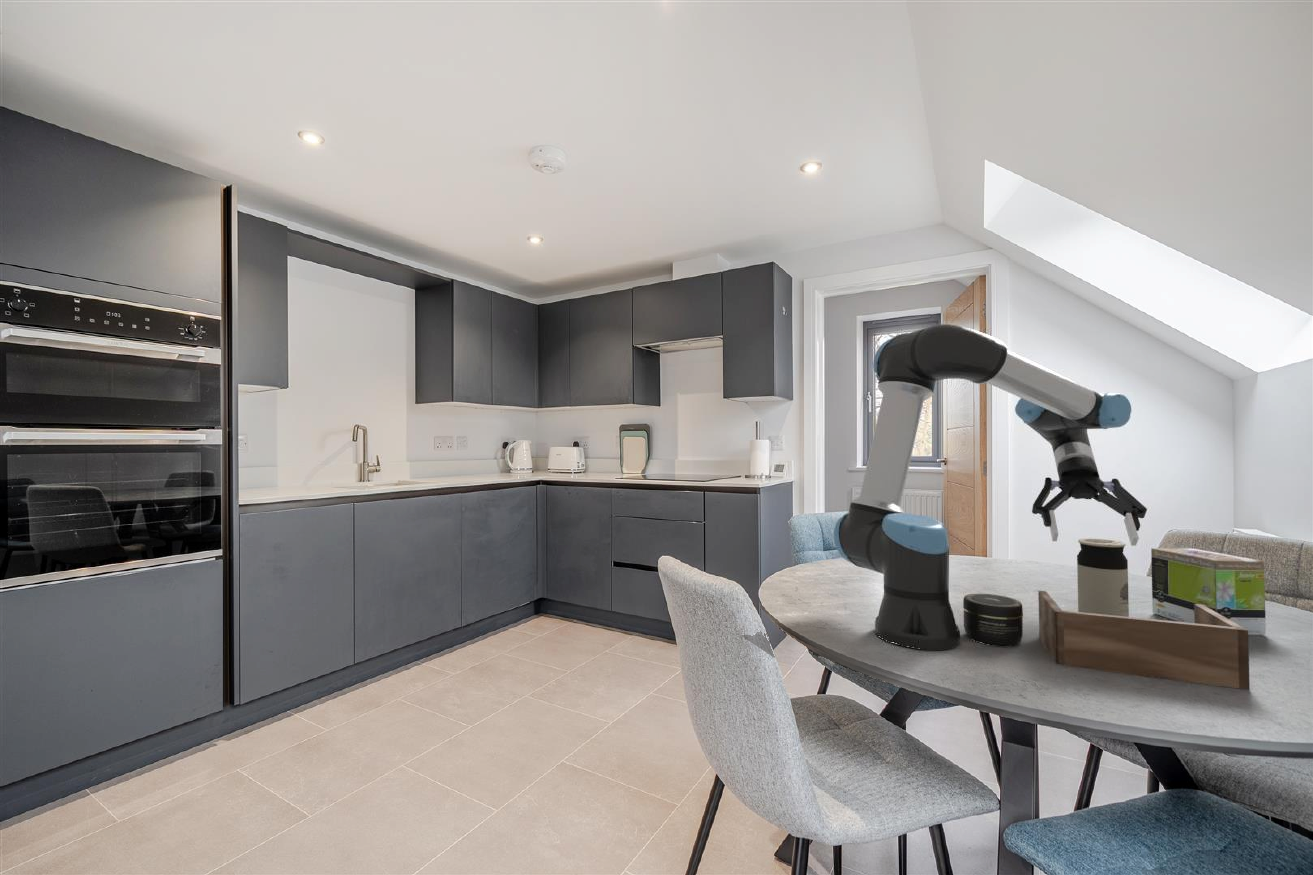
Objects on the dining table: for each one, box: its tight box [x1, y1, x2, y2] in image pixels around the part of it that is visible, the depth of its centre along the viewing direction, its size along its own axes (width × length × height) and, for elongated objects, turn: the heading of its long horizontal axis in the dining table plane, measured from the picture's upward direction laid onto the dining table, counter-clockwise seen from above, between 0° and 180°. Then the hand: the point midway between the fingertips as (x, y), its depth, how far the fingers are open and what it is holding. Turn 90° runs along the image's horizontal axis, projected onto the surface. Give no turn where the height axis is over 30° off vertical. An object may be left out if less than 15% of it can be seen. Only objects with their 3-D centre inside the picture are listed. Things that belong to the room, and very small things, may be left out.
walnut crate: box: [1037, 590, 1251, 691], centre depth 98 cm, size 15×24×9 cm, turn 65°
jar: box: [962, 593, 1024, 647], centre depth 109 cm, size 10×10×8 cm
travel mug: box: [1076, 538, 1130, 617], centre depth 113 cm, size 8×8×18 cm
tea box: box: [1150, 547, 1267, 636], centre depth 117 cm, size 15×10×15 cm
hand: (1094, 539), depth 119 cm, fingers open, 13 cm apart
